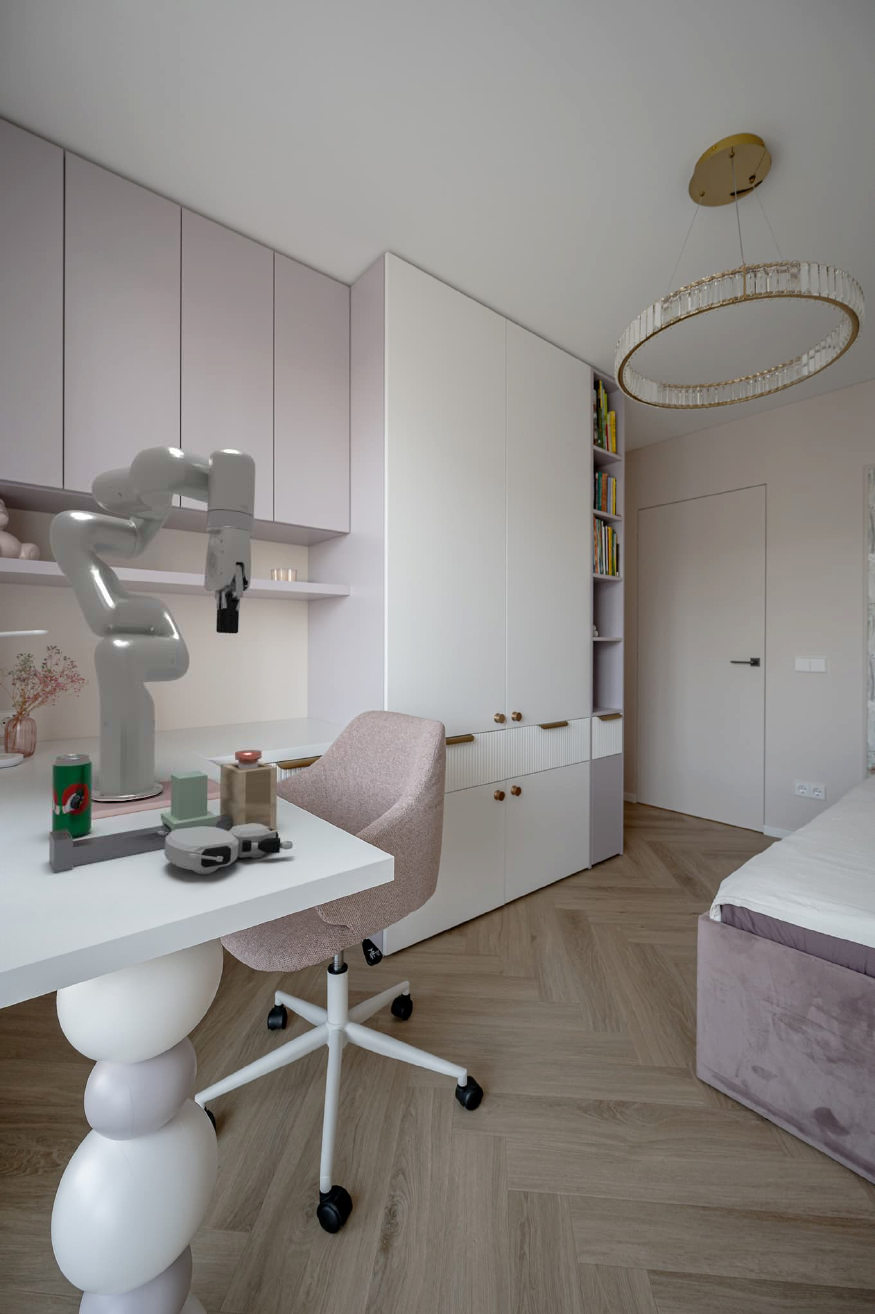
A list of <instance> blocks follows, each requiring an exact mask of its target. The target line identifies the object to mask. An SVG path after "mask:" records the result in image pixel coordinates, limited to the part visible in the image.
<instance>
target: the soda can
mask: <svg viewBox="0 0 875 1314" xmlns="http://www.w3.org/2000/svg"><path fill="white" fill-rule="evenodd" d="M89 757H90V755H89V754H83V753H82V754H80V753H79V754H77V753H76V754H66V755H60V756H56V757H55V761H54V763H53V764H52V775H51V777H52V778H51V780H52V781H51V782H52V787H51V789H52V792H51V793H52V794H51V799H52V800H51V801H52V802H51V803H52V805H51V809H52V811H51V831H57V830H63V829H68V831H69V832H70V834H71V836H72V837H73V839H75V838H80V837H83V836H85V835H87V834H88V833H89V832H90V831H91V830H92V801H93V800H92V784H93V783H92V782H93V781H92V780H93V779H92V778H93V777H92V776H93V775H92V774H93V772H92V771H93V765H92V764H93V762H92V760H91V759H90V758H89Z"/></svg>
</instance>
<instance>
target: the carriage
mask: <svg viewBox="0 0 875 1314" xmlns="http://www.w3.org/2000/svg"><path fill="white" fill-rule="evenodd" d="M218 816H219V815H217V814H214V813H213V812H211V811H209V810H208V774H206V773H204V772H202V771H200V770H195V771H187V772H178V773H172V774H170V811H168V812H161V813H160V820H161V826H162V825H168V826H169V827H170V828H171V832H172V831H174V830H176V829H183V828H192V827H200V826H208V827H216V823H218Z"/></svg>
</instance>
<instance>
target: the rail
mask: <svg viewBox="0 0 875 1314" xmlns="http://www.w3.org/2000/svg"><path fill="white" fill-rule="evenodd" d="M217 816H218V823H216V828H220V829H223V830H226V831H230V830H231V828H232V827H233V818H231V817H229V816H228V815H226V814H224V815H220V814H219V815H217ZM159 831H164V832H168V833H171V828H170V827H169V826H168V825H162V824H161V825H157V826H152V827H146V828H139V829H134V830H128V831H123V832H117V833H110V834H106V835H101V836H94V837H93V836H92V837H87V838H82V839H77V840H74V838H73V837H72V836H71V834H70V832H69V831H68V829H63V830H57V831H52V830H51V831H49V846H48V847H49V850H48V851H49V854H48V855H49V856H48V858H49V860H48V861H49V865H50V866H51V869H52V872H53V873H54V874H56V873H60V872H65V871H66V872H67V871H70V870H73V868H74V867H78V866H82V865H87V864H92V863H98V862H103V861H108V860H113V859H118V858H123V857H128V856H132V855H139V854H143V853H148V852H153V851H158V850H162V849H164V850H165V839H166V836H167V835H165V834H164V835H161V834H159V833H158V832H159Z"/></svg>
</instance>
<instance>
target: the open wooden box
mask: <svg viewBox="0 0 875 1314" xmlns="http://www.w3.org/2000/svg"><path fill="white" fill-rule="evenodd" d="M277 771H278V768H277V767H276V766H273V765H271V764H268V763H266V762H265V763H264V762H262V761H259V760H258V768H250V769H242V770H240V769H238V762H232V763H231V762H230V763H223V764H222V763H221V764H220V781H219V783H220V796H219V797H220V800H219V802H220V804H219V805H220V807H219V808H220V809H219V812H220V813H219V815H224V814H226V815H228V816H229V817H231V818H233V826H238V825H244V824H250V823H256V824H262V825H264V826H267V827H272V828H271V829H274V830H276V831H277V819H278V818H277V815H278V814H277V812H278V811H277V806H278V805H277V804H278V803H277V802H278V801H277V800H278V799H277V797H278V793H277V792H278V789H277V788H278V787H277V786H278V783H277V782H278V779H277V778H278V772H277Z"/></svg>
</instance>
